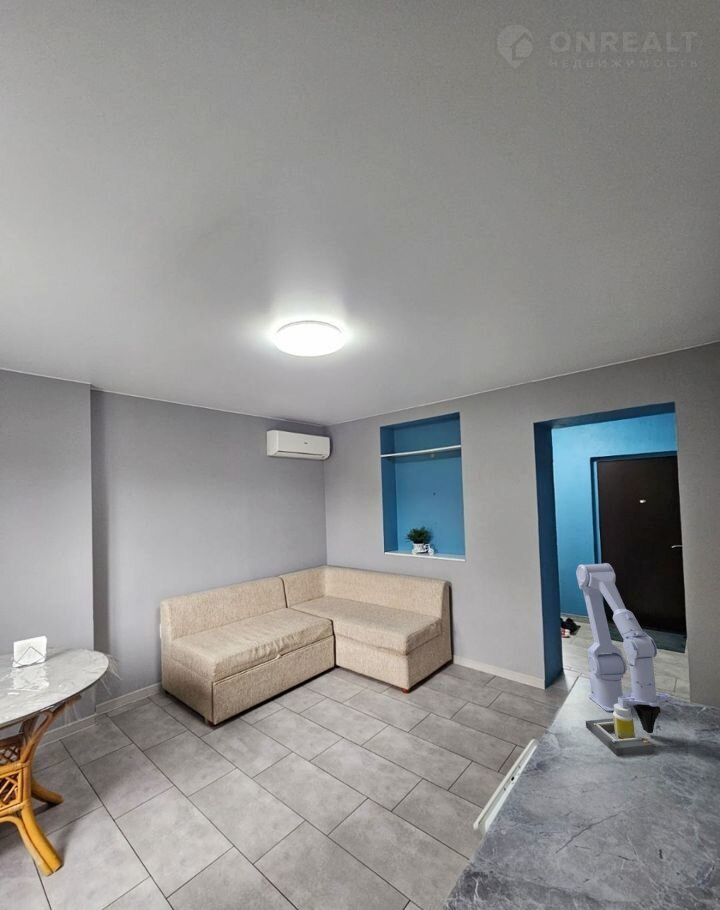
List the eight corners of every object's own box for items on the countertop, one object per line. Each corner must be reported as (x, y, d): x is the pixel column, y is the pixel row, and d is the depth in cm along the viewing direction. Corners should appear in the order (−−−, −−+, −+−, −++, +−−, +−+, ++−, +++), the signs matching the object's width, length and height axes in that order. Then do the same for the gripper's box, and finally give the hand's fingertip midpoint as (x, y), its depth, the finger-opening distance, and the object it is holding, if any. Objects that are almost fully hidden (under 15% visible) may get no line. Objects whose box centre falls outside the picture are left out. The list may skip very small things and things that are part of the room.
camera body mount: (586, 727, 120) (585, 718, 121) (618, 724, 121) (617, 715, 121) (616, 755, 107) (615, 745, 108) (652, 751, 108) (651, 742, 108)
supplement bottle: (639, 742, 112) (636, 710, 113) (623, 744, 112) (619, 712, 113) (627, 732, 117) (623, 701, 118) (611, 734, 117) (608, 703, 117)
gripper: (628, 689, 112) (633, 741, 111) (678, 685, 113) (684, 737, 112) (611, 677, 119) (615, 727, 118) (658, 673, 120) (663, 722, 119)
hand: (647, 731), depth 115 cm, fingers closed
